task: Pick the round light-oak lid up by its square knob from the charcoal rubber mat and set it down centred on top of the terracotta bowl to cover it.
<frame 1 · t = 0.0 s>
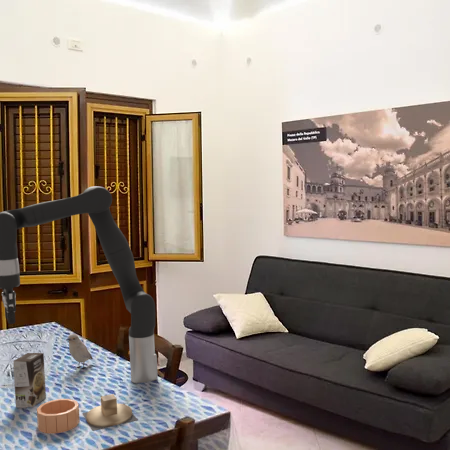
hand: (10, 320, 177), 29 cm above the table, fingers open, 8 cm apart
bird: (80, 368, 214), on the table
coffee box: (31, 403, 182), on the table
rubber mat: (109, 418, 168), on the table
oak lid: (109, 416, 168), point 1 cm above the table, touching rubber mat
terracotta bowl: (58, 425, 164), on the table
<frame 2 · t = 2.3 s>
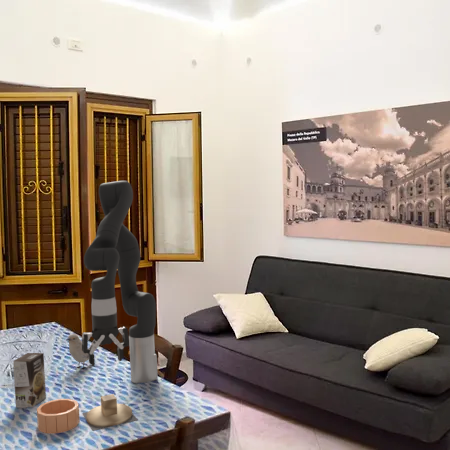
hand: (106, 362, 167), 18 cm above the table, fingers open, 8 cm apart
nothing on the table moved.
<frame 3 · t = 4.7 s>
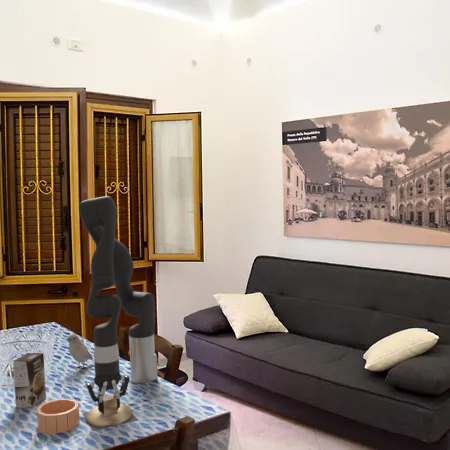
hand: (109, 410, 168), 2 cm above the table, fingers closed on oak lid, 4 cm apart
oak lid: (109, 416, 168), point 1 cm above the table, touching gripper, rubber mat
everything else where it was.
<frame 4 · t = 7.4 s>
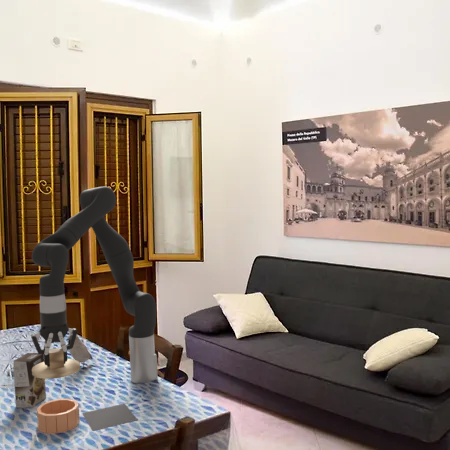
hand: (55, 364, 162), 19 cm above the table, fingers closed on oak lid, 4 cm apart
oak lid: (56, 370, 162), point 18 cm above the table, touching gripper
everything else where it was.
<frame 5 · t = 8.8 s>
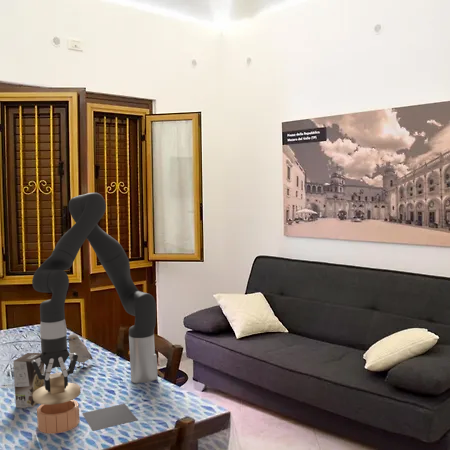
hand: (56, 389, 163), 12 cm above the table, fingers closed on oak lid, 4 cm apart
oak lid: (56, 395, 163), point 10 cm above the table, touching gripper
everything else where it was.
when the fingers open (10 cm above the table, at t = 10.0 s): oak lid drops 2 cm, resting on terracotta bowl.
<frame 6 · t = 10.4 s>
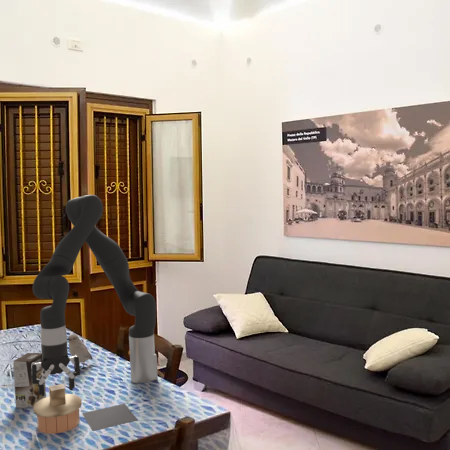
hand: (57, 392, 163), 11 cm above the table, fingers open, 8 cm apart
oak lid: (58, 406, 164), point 6 cm above the table, touching terracotta bowl
everything else where it was.
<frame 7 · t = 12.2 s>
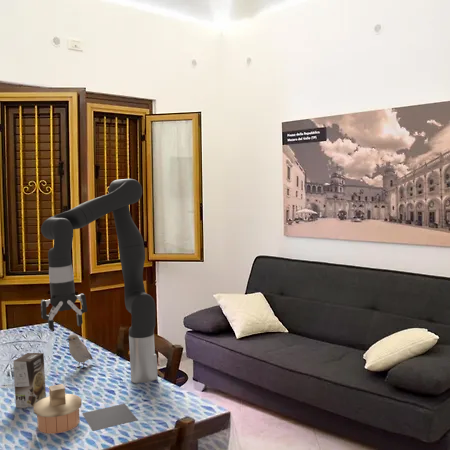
hand: (66, 328, 174), 27 cm above the table, fingers open, 8 cm apart
nothing on the table moved.
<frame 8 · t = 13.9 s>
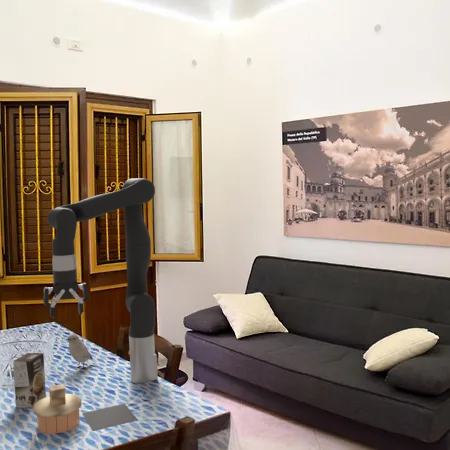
hand: (67, 316, 178), 30 cm above the table, fingers open, 8 cm apart
nothing on the table moved.
at the end: oak lid 0.0 cm off-centre on the terracotta bowl, point 6.0 cm above the terracotta bowl's base; oak lid tilted 0°; the gripper is holding nothing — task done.
